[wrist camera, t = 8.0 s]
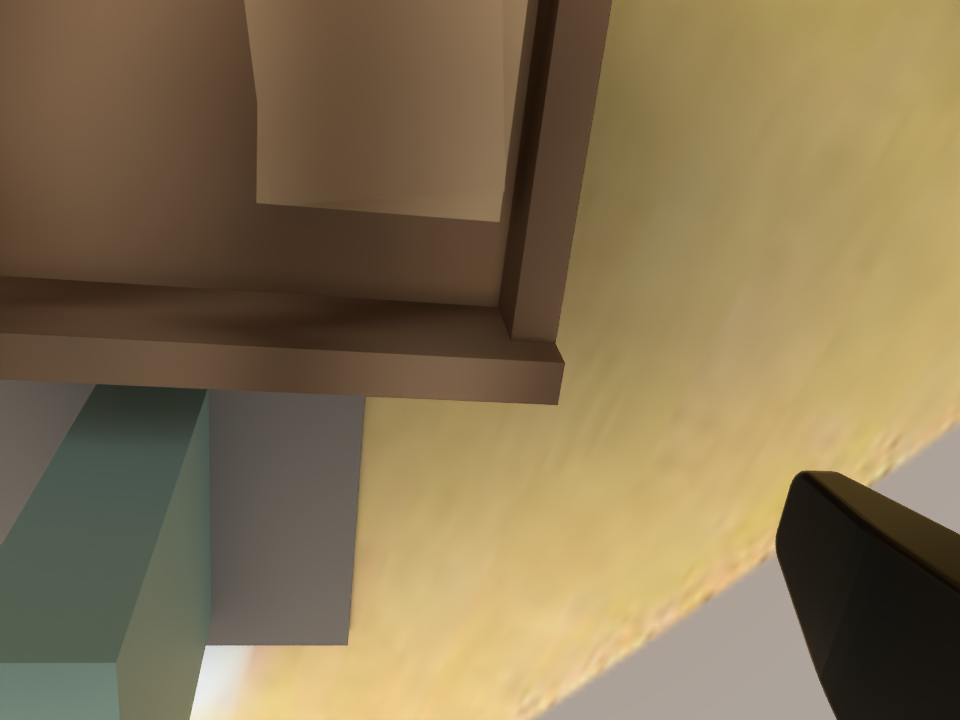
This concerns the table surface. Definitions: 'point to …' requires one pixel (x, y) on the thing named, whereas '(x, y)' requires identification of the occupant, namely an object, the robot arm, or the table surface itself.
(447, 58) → the offcut
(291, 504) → the mat
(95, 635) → the teal block
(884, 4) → the table surface
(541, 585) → the table surface
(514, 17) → the offcut
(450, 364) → the rack
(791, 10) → the table surface
